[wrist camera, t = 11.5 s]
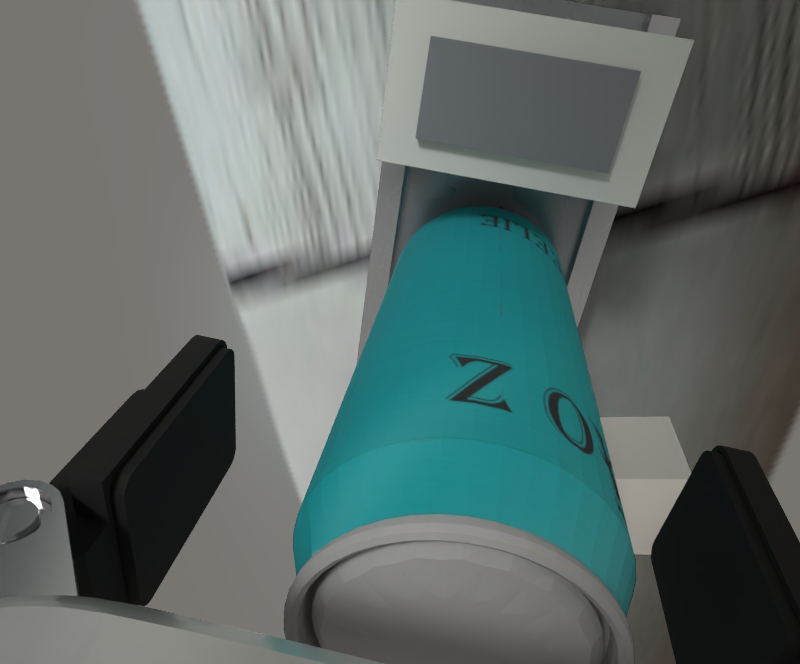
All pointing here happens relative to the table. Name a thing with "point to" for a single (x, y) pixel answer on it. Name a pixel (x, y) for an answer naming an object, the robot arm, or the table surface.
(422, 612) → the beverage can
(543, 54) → the module
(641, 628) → the table surface
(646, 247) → the table surface
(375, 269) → the rail
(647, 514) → the block
